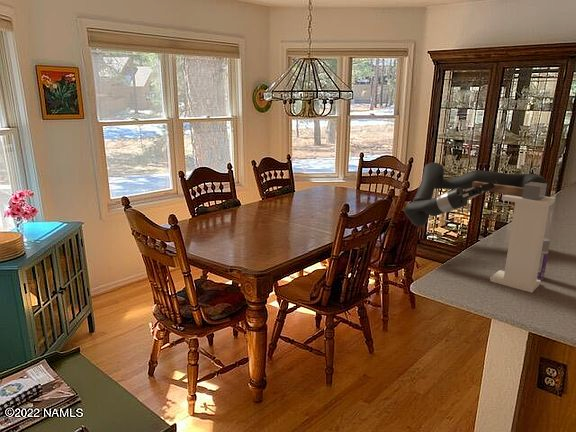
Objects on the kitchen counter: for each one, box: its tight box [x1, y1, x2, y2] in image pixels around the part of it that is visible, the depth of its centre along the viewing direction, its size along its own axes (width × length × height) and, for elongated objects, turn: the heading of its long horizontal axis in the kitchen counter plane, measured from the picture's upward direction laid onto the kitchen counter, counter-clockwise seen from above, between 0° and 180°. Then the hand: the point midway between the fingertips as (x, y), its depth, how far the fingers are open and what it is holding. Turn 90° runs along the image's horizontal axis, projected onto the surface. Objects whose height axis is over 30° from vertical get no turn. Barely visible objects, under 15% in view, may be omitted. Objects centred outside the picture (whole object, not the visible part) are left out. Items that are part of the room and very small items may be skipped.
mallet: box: [472, 181, 547, 200], centre depth 152 cm, size 23×8×4 cm, turn 47°
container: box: [537, 237, 551, 281], centre depth 159 cm, size 5×5×15 cm
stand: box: [489, 194, 556, 293], centre depth 152 cm, size 14×10×32 cm
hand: (495, 184), depth 154 cm, fingers closed on mallet, 2 cm apart
